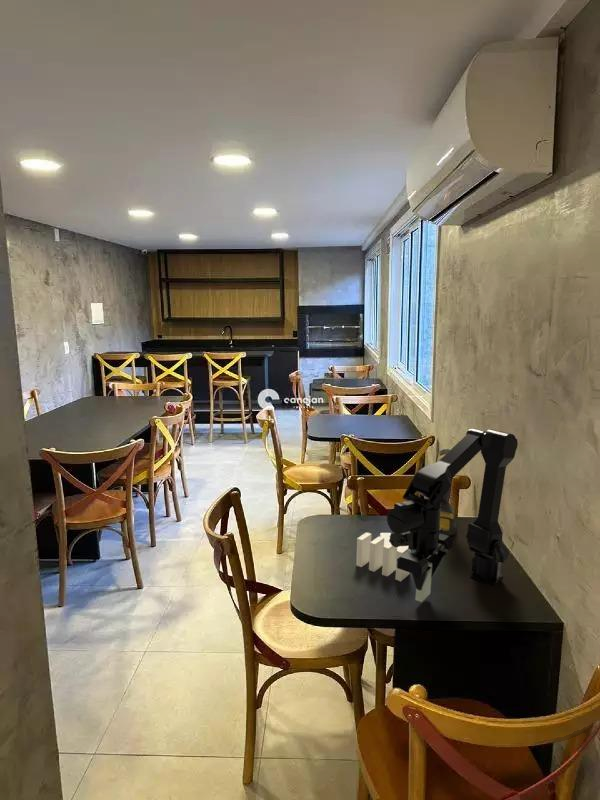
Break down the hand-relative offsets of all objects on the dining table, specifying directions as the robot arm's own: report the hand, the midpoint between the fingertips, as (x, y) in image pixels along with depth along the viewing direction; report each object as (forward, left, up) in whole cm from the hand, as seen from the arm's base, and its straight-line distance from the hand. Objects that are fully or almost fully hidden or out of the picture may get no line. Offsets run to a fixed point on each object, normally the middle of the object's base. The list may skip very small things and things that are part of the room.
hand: (423, 584), depth 128 cm
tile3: (+14, -8, -4) cm, 16 cm away
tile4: (+18, -8, -4) cm, 20 cm away
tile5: (+22, -8, -4) cm, 23 cm away
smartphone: (+20, -24, -5) cm, 32 cm away
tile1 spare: (0, 0, -3) cm, 3 cm away
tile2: (+10, -8, -4) cm, 13 cm away
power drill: (+13, -42, -5) cm, 44 cm away
